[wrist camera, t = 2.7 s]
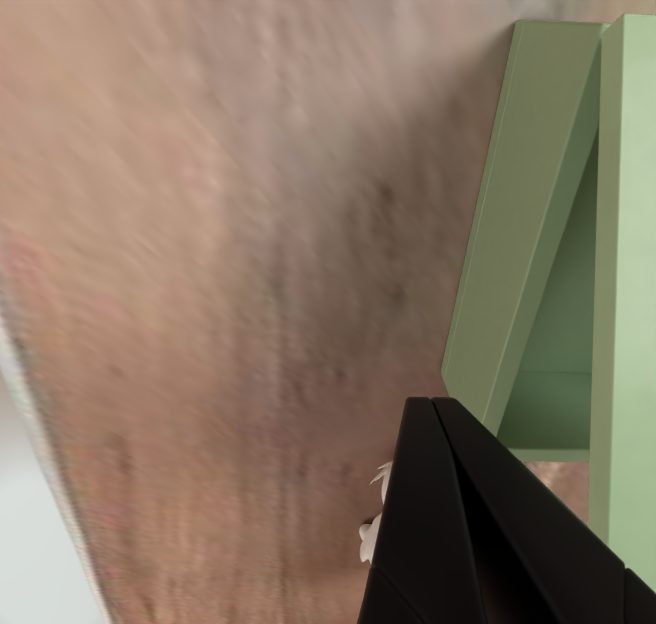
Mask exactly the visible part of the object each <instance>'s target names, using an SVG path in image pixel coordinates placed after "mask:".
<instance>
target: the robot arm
mask: <svg viewBox="0 0 656 624" xmlns="http://www.w3.org/2000/svg"><path fill="white" fill-rule="evenodd" d="M357 624H656V593H655V592H654V591H653V590H652V589H651V588H650V587H649V586H648V585H647V584H646V583H645V582H644V581H643V580H642V579H641V578H640V577H639V576H638V575H637V574H636V573H635V572H634V571H633V570H632V569H630V568H625V563H624V562H623V561H622V560H621V559H620V558H619V557H618V556H617V555H616V554H615V553H614V552H613V551H612V550H611V549H610V548H609V547H608V546H607V545H606V544H605V543H604V542H603V541H602V540H601V539H600V538H599V537H598V536H597V535H596V534H594V533H593V532H592V531H591V530H590V529H589V528H588V527H587V526H586V525H585V524H584V523H583V522H582V521H581V520H580V519H579V518H578V517H577V516H576V515H575V514H574V513H573V512H572V511H571V510H570V509H569V508H568V507H567V506H566V505H565V504H564V503H563V502H562V501H561V500H560V499H559V498H558V497H557V496H556V495H554V494H553V493H552V492H551V491H550V490H549V489H548V488H547V487H546V486H545V485H544V484H543V483H542V482H541V481H540V480H539V479H538V478H537V477H536V476H535V475H534V474H533V473H532V472H531V471H530V470H529V469H528V468H527V467H526V466H525V465H524V464H523V463H522V462H521V461H520V460H519V459H518V458H517V457H516V456H514V455H513V454H512V453H511V452H510V451H509V450H508V449H507V448H506V447H505V446H504V445H503V444H502V443H501V442H500V441H499V440H498V439H497V438H496V437H495V436H494V435H493V434H492V433H491V432H490V431H489V430H488V429H487V428H486V427H485V426H484V425H483V424H482V423H481V422H480V421H479V420H478V419H477V418H476V417H474V416H473V415H472V414H471V413H470V412H469V411H468V410H467V409H466V408H465V407H464V406H463V405H462V404H461V403H460V402H459V401H458V400H457V399H455V398H452V397H434V398H432V399H429V398H428V397H408V398H407V399H406V401H405V406H404V411H403V415H402V420H401V425H400V430H399V434H398V439H397V444H396V448H395V453H394V458H393V463H392V467H391V472H390V477H389V482H388V486H387V491H386V496H385V500H384V505H383V510H382V515H381V519H380V524H379V529H378V534H377V538H376V543H375V548H374V552H373V557H372V562H371V568H370V570H369V575H368V579H367V584H366V589H365V593H364V598H363V602H362V606H361V610H360V614H359V618H358V622H357Z"/></svg>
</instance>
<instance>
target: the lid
mask: <svg viewBox="0 0 656 624" xmlns="http://www.w3.org/2000/svg"><path fill="white" fill-rule="evenodd" d="M588 528H589V529H590V530H591V531H592V532H593V533H594V534H596V535H597V536H598V537H599V538H600V539H601V540H602V541H603V542H604V543H605V544H606V545H607V546H608V547H609V548H610V549H611V550H612V551H613V552H614V553H615V554H616V555H617V556H618V557H619V558H620V559H621V560H622V561H623V562H624V563H625V568H630V569H632V570H633V571H634V572H635V573H636V574H637V575H638V576H639V577H640V578H641V579H642V580H643V581H644V582H645V583H646V584H647V585H648V586H649V587H650V588H651V589H652V590H653V591H654V592H655V593H656V15H648V14H622V15H621V16H620V17H619V18H618V19H617V20H616V21H615V22H614V23H613V24H612V25H611V26H610V27H608V28H607V29H606V30H605V31H604V32H603V34H602V49H601V83H600V118H599V152H598V186H597V220H596V255H595V289H594V323H593V358H592V392H591V426H590V461H589V495H588Z"/></svg>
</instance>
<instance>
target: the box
mask: <svg viewBox="0 0 656 624" xmlns="http://www.w3.org/2000/svg"><path fill="white" fill-rule="evenodd" d="M612 24H613V23H593V22H565V21H537V20H516V23H515V28H514V32H513V37H512V42H511V46H510V51H509V56H508V60H507V65H506V69H505V74H504V79H503V83H502V88H501V93H500V97H499V102H498V107H497V111H496V116H495V121H494V125H493V130H492V134H491V139H490V144H489V148H488V153H487V158H486V162H485V167H484V172H483V176H482V181H481V186H480V190H479V195H478V200H477V204H476V209H475V213H474V218H473V223H472V227H471V232H470V237H469V241H468V246H467V251H466V255H465V260H464V265H463V269H462V274H461V278H460V283H459V288H458V292H457V297H456V302H455V306H454V311H453V316H452V320H451V325H450V330H449V334H448V339H447V343H446V348H445V353H444V357H443V362H442V367H441V371H440V372H441V375H442V378H443V381H444V383H445V386H446V389H447V392H448V395H449V397H452V398H455V399H457V400H458V401H459V402H460V403H461V404H462V405H463V406H464V407H465V408H466V409H467V410H468V411H469V412H470V413H471V414H472V415H473V416H474V417H476V418H477V419H478V420H479V421H480V422H481V423H482V424H483V425H484V426H485V427H486V428H487V429H488V430H489V431H490V432H491V433H492V434H493V435H494V436H495V437H496V438H497V439H498V440H499V441H500V442H501V443H502V444H503V445H504V446H505V447H506V448H507V449H508V450H509V451H510V452H511V453H512V454H513V455H514V456H516V457H517V458H518V459H519V460H520V461H545V462H589V461H590V426H591V392H592V358H593V323H594V289H595V255H596V220H597V186H598V152H599V118H600V83H601V49H602V34H603V32H604V31H605V30H606V29H607V28H608V27H610V26H611V25H612Z"/></svg>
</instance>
